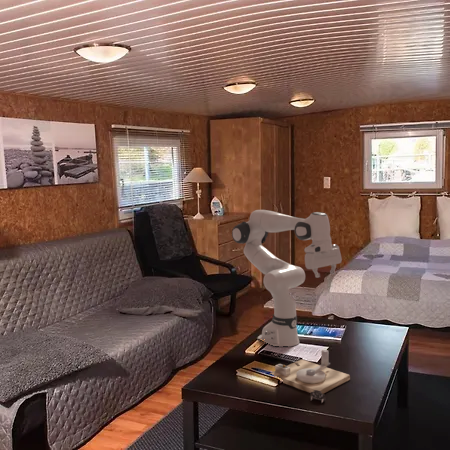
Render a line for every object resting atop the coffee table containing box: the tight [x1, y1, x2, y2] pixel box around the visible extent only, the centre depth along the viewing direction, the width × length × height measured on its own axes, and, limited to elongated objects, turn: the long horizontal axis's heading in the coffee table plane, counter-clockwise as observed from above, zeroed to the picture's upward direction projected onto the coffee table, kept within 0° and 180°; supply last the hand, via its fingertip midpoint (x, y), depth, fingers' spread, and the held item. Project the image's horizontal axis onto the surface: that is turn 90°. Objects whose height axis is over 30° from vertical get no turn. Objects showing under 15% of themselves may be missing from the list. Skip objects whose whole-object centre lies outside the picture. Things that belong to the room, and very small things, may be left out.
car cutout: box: [309, 390, 326, 403], centre depth 202 cm, size 15×7×4 cm, turn 57°
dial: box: [296, 349, 331, 384], centre depth 222 cm, size 20×12×9 cm, turn 133°
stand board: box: [269, 358, 351, 395], centre depth 224 cm, size 26×22×6 cm
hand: (325, 275), depth 246 cm, fingers open, 8 cm apart
